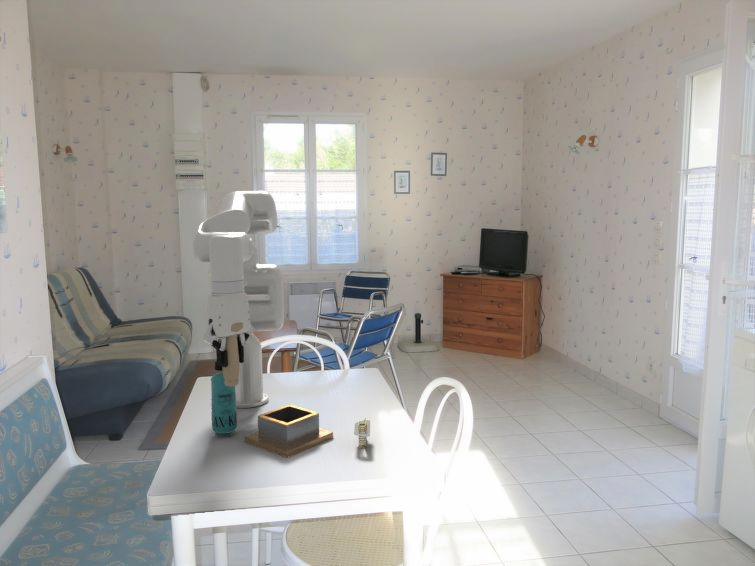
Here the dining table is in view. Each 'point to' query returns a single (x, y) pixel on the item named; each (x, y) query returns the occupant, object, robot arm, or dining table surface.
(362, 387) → the dining table surface
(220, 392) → the beverage bottle
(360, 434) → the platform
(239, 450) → the dining table surface
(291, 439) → the sleeve
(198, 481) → the dining table surface
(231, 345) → the handle
